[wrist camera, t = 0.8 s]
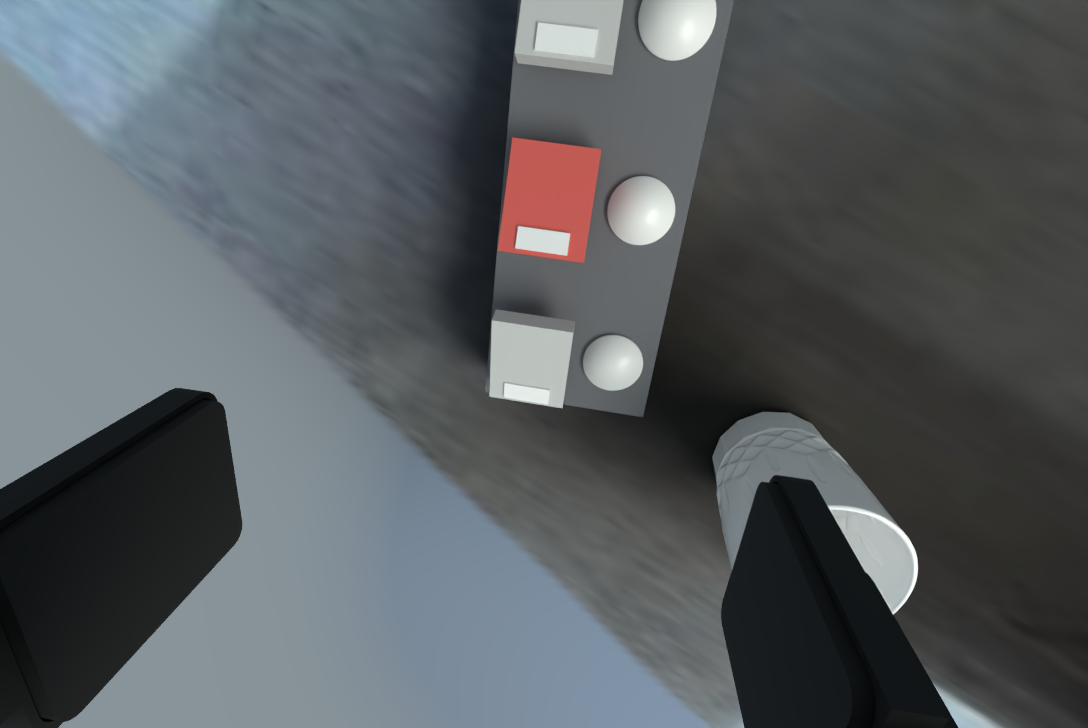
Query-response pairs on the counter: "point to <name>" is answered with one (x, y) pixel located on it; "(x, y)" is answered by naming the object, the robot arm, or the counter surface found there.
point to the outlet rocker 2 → (549, 200)
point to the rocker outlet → (530, 357)
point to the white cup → (803, 453)
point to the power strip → (619, 191)
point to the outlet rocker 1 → (569, 34)
